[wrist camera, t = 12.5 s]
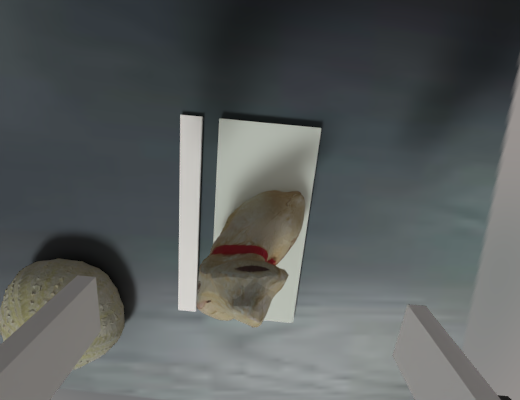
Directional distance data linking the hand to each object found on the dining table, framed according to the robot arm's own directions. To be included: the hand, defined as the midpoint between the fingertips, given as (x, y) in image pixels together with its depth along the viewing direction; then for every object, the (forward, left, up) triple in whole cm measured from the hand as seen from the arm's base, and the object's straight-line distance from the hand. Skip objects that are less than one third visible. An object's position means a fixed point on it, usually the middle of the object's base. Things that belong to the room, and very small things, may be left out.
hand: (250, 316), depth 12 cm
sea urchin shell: (+9, -15, -11) cm, 20 cm away
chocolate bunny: (0, 0, -10) cm, 10 cm away
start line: (0, -5, -11) cm, 12 cm away
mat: (0, 0, -11) cm, 11 cm away
